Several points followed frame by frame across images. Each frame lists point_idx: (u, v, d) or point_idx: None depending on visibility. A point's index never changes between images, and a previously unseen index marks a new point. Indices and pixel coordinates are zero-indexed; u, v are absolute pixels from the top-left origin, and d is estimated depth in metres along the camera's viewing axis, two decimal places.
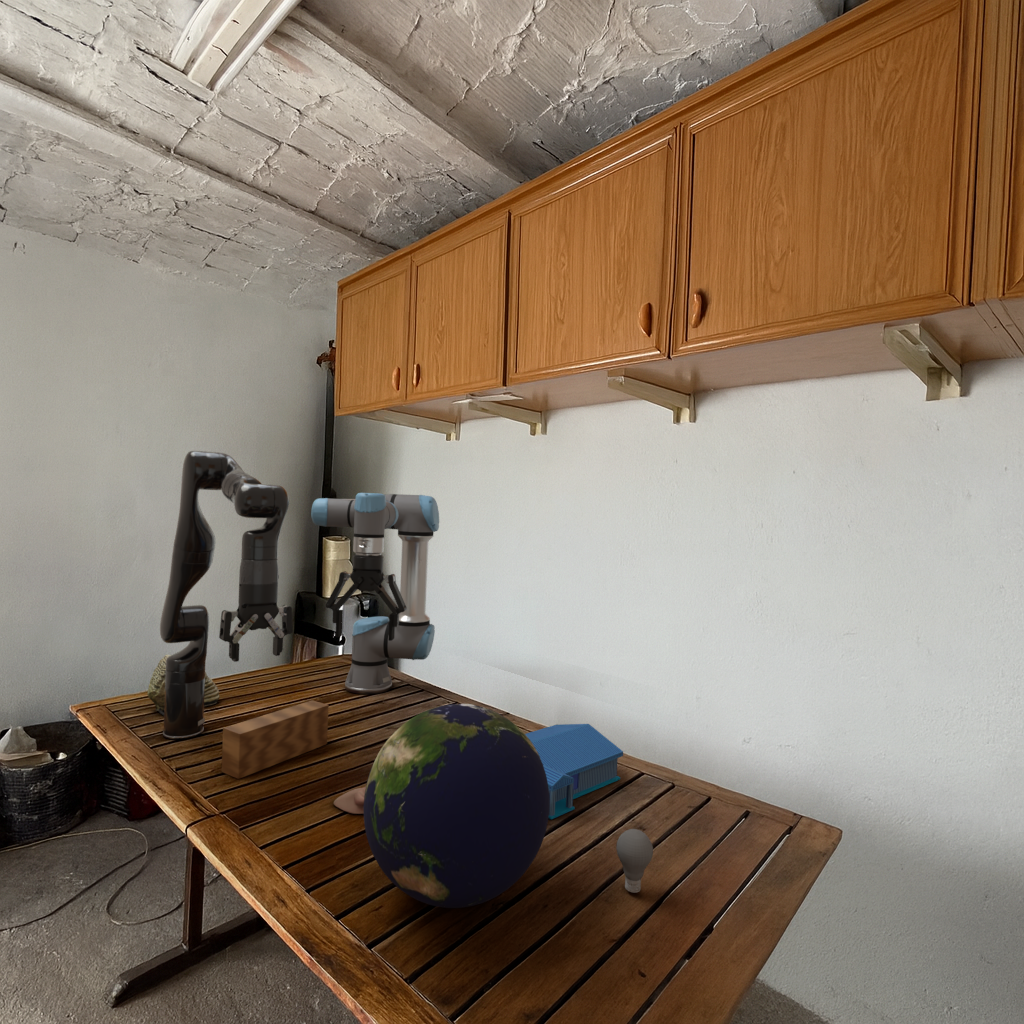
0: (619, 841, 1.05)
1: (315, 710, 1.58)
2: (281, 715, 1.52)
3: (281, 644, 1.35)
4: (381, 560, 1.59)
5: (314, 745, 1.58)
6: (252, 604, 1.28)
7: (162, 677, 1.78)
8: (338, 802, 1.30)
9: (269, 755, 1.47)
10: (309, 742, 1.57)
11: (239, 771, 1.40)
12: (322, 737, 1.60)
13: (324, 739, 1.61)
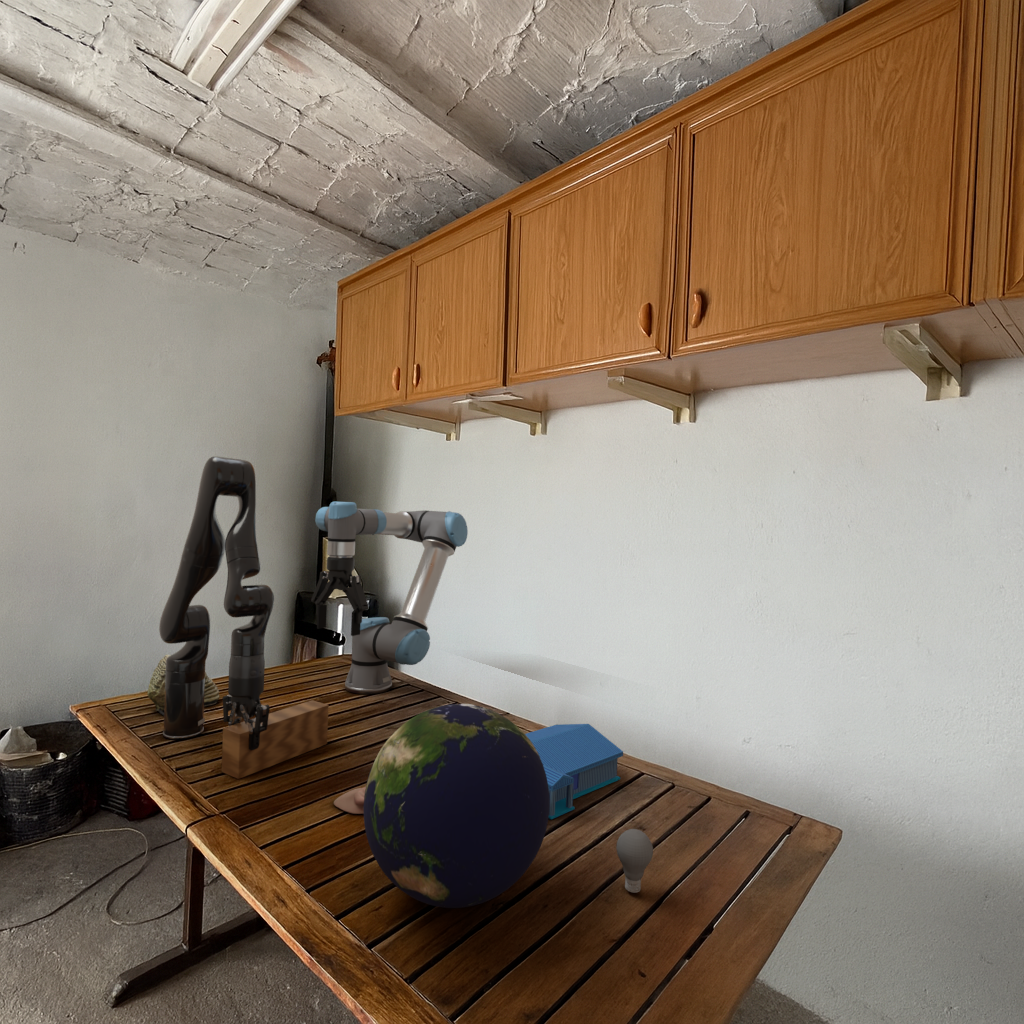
0: (619, 841, 1.05)
1: (315, 710, 1.58)
2: (281, 715, 1.52)
3: (253, 740, 1.42)
4: None
5: (314, 745, 1.58)
6: None
7: (162, 677, 1.78)
8: (338, 802, 1.30)
9: (269, 755, 1.47)
10: (309, 742, 1.57)
11: (239, 771, 1.40)
12: (322, 737, 1.60)
13: (324, 739, 1.61)
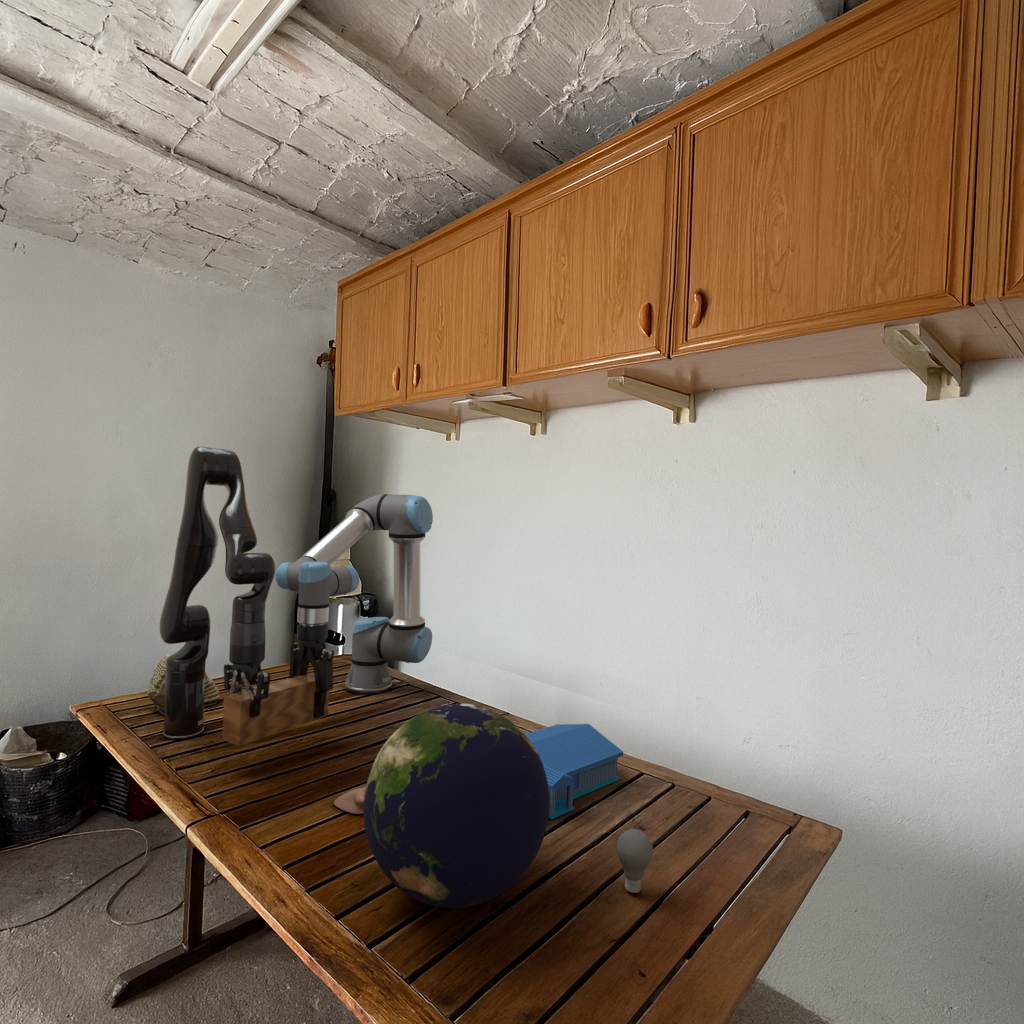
0: (619, 841, 1.05)
1: None
2: (282, 685, 1.52)
3: (254, 708, 1.42)
4: None
5: None
6: None
7: (162, 677, 1.78)
8: (338, 802, 1.30)
9: (270, 723, 1.47)
10: (310, 713, 1.57)
11: (240, 738, 1.40)
12: None
13: (325, 710, 1.61)
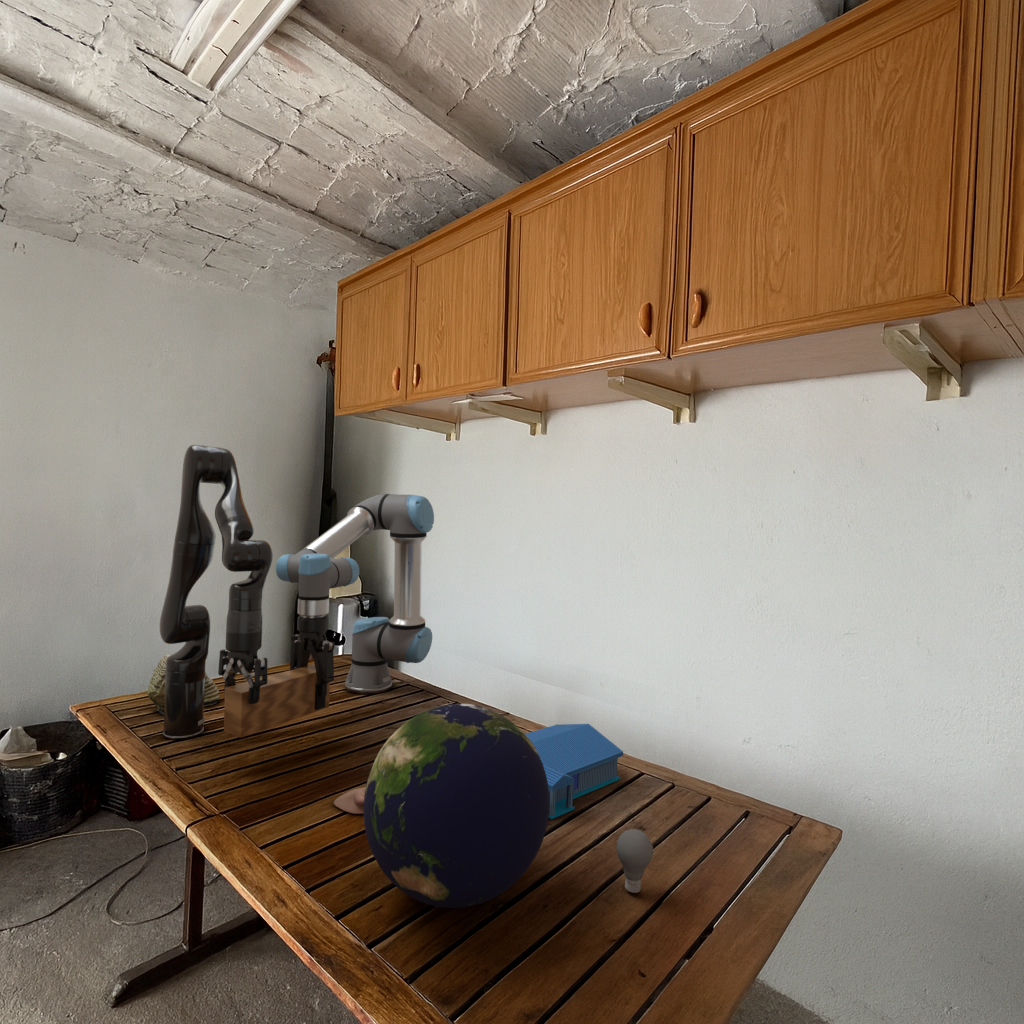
0: (619, 841, 1.05)
1: None
2: (283, 677, 1.52)
3: (253, 694, 1.40)
4: None
5: None
6: None
7: (162, 677, 1.78)
8: (338, 802, 1.30)
9: (271, 715, 1.47)
10: (311, 704, 1.57)
11: (241, 730, 1.40)
12: None
13: (326, 702, 1.61)
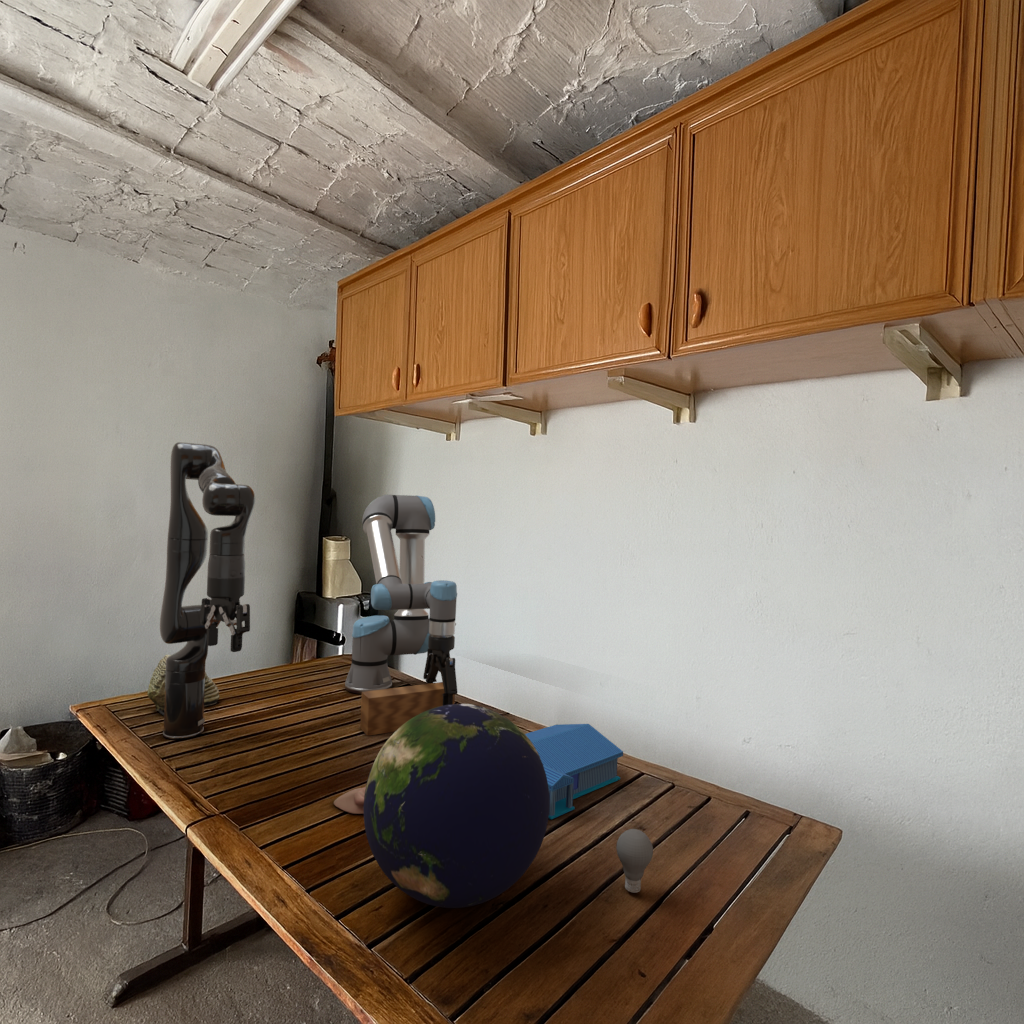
0: (619, 841, 1.05)
1: (441, 690, 1.79)
2: (411, 689, 1.77)
3: (235, 641, 1.36)
4: None
5: None
6: None
7: (162, 677, 1.78)
8: (338, 802, 1.30)
9: (396, 721, 1.73)
10: None
11: (368, 729, 1.69)
12: None
13: None
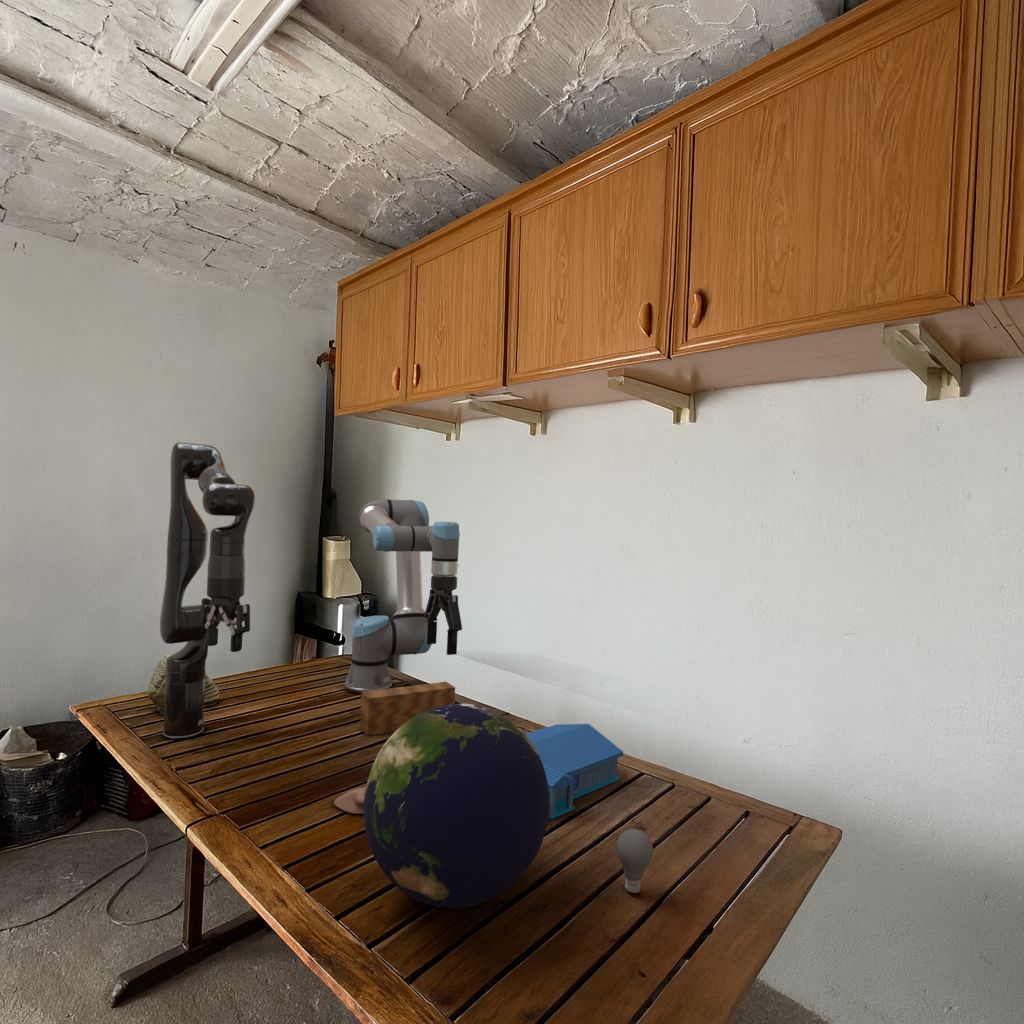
0: (619, 841, 1.05)
1: (441, 690, 1.79)
2: (411, 689, 1.77)
3: (235, 641, 1.36)
4: None
5: None
6: None
7: (162, 677, 1.78)
8: (338, 802, 1.30)
9: (396, 721, 1.73)
10: None
11: (368, 729, 1.69)
12: None
13: None
